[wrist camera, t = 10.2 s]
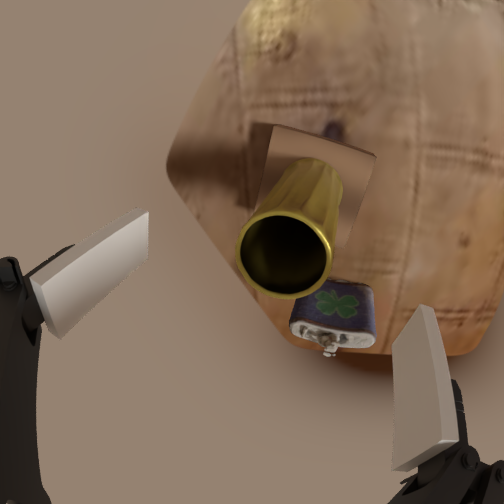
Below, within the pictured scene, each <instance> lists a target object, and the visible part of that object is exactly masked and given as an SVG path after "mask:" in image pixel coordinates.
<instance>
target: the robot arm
mask: <svg viewBox="0 0 504 504" xmlns="http://www.w3.org/2000/svg"><path fill="white" fill-rule="evenodd" d="M148 215H149V211H146V210H143V209H140V208H134V209H133V210H131V211H129V212H127V213H126V214H124V215H122V216H121V217H119V218H117V219H116V220H114V221H112V222H111V223H109V224H108V225H106V226H104V227H103V228H101V229H99V230H98V231H96V232H95V233H93V234H91V235H90V236H88V237H87V238H86V239H84V240H82V241H81V242H79V243H78V244H76V245H75V244H74V245H71V246H68V247H65V248H63V249H62V250H60V251H59V252H57V253H56V254H55V255H53V256H51V257H50V258H48V260H46V261H44V262H43V263H41V264H40V265H39V266H37V267H36V268H34V269H33V270H32V271H30V272H29V273H28V274H26V275H25V276H22V272H21V269H20V266H19V262H18V260H17V259H16V258H14V257H4V258H1V259H0V504H6V503H8V504H51V501H50V498H49V496H48V495H47V493H46V491H45V490H44V488H43V486H42V482H41V476H40V469H39V459H38V448H37V431H36V388H37V371H38V358H39V349H40V341H41V333H42V329H41V325H40V324H41V323H43V322H44V321H45V323H46V325H47V328H48V330H49V331H50V332H51V333H52V334H53V335H55V336H56V337H57V338H59V339H62V338H63V337H64V336H65V334H66V333H68V331H70V330H71V329H72V328H73V327H74V326H75V325H76V324H77V323H78V322H79V321H80V320H81V319H82V318H83V317H84V316H85V315H86V314H87V313H88V312H89V311H91V309H93V308H94V307H95V306H96V305H97V304H98V303H99V302H100V301H101V300H102V299H103V298H104V297H106V296H107V295H108V294H109V293H110V292H111V291H112V290H113V289H114V288H115V287H117V286H118V285H119V284H120V283H121V282H122V281H123V280H124V279H125V278H127V277H128V276H129V275H130V274H131V273H132V272H133V271H135V270H136V269H137V268H138V267H139V266H140V265H142V264H143V263H144V262H145V261H146V260H147V259H148ZM392 356H393V375H394V376H393V377H394V437H393V456H392V467H391V468H392V469H391V470H392V471H406V472H408V471H410V470H412V469H414V468H415V467H417V466H418V473H417V474H415V475H413V476H411V477H409V478H406V479H404V480H403V481H402V482H400V484H403V483H406V482H407V483H406V485H405V486H404V487H403V488H402V489H401V490H400V491H399V492H398V493H397V494H396V495H395V496H394V497H393V499H392V500H391V501H390V502H389V503H388V504H504V461H503V460H499V461H497V462H495V463H494V464H492V465H487V464H485V463H483V462H481V461H480V458H479V455H478V452H477V451H476V449H475V448H473V447H472V446H469V445H468V438H467V428H466V421H465V413H463V412H464V407H463V404H462V395H461V390H460V389H459V386H458V384H457V382H456V380H453V379H451V378H450V373H449V368H448V364H447V359H446V355H445V350H444V346H443V342H442V338H441V334H440V331H439V327H438V323H437V320H436V316H435V313H434V310H433V308H431V307H428V306H425V305H423V304H420V305H419V306H418V308H417V309H416V311H415V312H414V314H413V315H412V317H411V318H410V320H409V321H408V323H407V324H406V326H405V327H404V329H403V330H402V331H401V333H400V334H399V336H398V337H397V338H396V340H395V341H394V343H393V344H392Z"/></svg>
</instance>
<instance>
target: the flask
mask: <svg viewBox="0 0 504 504" xmlns="http://www.w3.org/2000/svg"><path fill="white" fill-rule="evenodd" d="M289 327H290V331H291V333H292V334H294V335H295V336H298V337H301V338H304V339H307V340H309V341H312V342H316V343H319V345H321V346H322V347H326V349H324V350H325V351H329V352H335V351H336V349H337V347H348V348H368V347H370V346H371V345H373V344H374V342H375V341H376V335H377V334H376V329H375V317H374V300H373V291H372V288H371V287H369V286H367V285H365V284H362V283H358V284H355V283H351V282H348V281H345V280H335V281H333V280H331V279H330V278H328V279H326V281H325V282H324V283H323V284H322V286H321V287H320V288H319V289H317V290H316V291H314V292H313V293H311V294H309V295H307V296H304V297H300V298H296V301H295V305H294V308H293V311H292V313H291V317H290V320H289ZM323 355H325V356H327V357H329V356H331V355H330V353H326V352H324V353H323ZM333 356H335V354H333Z"/></svg>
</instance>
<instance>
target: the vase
mask: <svg viewBox="0 0 504 504" xmlns="http://www.w3.org/2000/svg"><path fill="white" fill-rule="evenodd" d="M342 193H343V186H342V181H341V179H340V177H339V175H338V173H337V172H336V170H335V169H334V168H333V167H332V166H330V165H329V164H328V163H326V162H324V161H322V160H319V159H314V158H306V159H301V160H298V161H296V162H294V163H292V164H291V165H290V166H289V167H288V168H287V169H286V170H285V171H284V173H283V175H282V177H281V178H280V180H279V181H278V182H277V184H276V185H275V186H274V188H273V189H272V190H271V192H270V193H269V194H268V196H267V197H266V198H265V200H264V201H263V202H262V204H261V205H260V206H259V207H258V209H257V210H256V211H255V213H254V214H253V215H252V217H251V218H250V219H249V220H248V222H247V223H246V224H245V225H244V226H243V227H242V229H241V232H240V234H239V236H238V239H237V241H236V245H235V258H236V263H237V266H238V268H239V270H240V272H241V273H242V275H243V277H244V278H245V280H246V281H247V282H248V283H249V284H250V285H251V286H252V287H254V288H255V289H256V290H258V291H259V292H261V293H263V294H265V295H268V296H271V297H275V298H280V299H296V298H300V297H304V296H307V295H309V294H311V293H313V292H314V291H316V290H317V289H319V288H320V287H321V286H322V284H323V283H324V282H325V281H326V279H327V278H328V276H329V274H330V271H331V268H332V264H333V258H334V249H335V238H336V232H337V224H338V215H339V208H338V206H339V204H340V202H341V199H342Z"/></svg>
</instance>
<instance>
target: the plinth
mask: <svg viewBox="0 0 504 504" xmlns="http://www.w3.org/2000/svg"><path fill="white" fill-rule="evenodd" d="M306 158H314V159H319V160H322V161H324V162H326V163H328V164H329V165H330V166H332V167H333V168H334V169H335V170H336V172H337V173H338V175H339V177H340V179H341V181H342V186H343V193H342V199H341V202H340V204H339V206H338V208H339V215H338V224H337V232H336V238H335V246H336V247H339V248H342V249H344V247H345V245H346V242H347V240H348V237H349V235H350V232H351V229H352V227H353V224H354V222H355V219H356V216H357V214H358V211H359V208H360V205H361V203H362V200H363V197H364V194H365V191H366V188H367V185H368V183H369V180H370V177H371V174H372V171H373V167H374V164H375V161H376V158H377V157H376V156H375V155H374V154H373V153H371V152H368V151H365V150H363V149H360V148H357V147H354V146H351V145H348V144H345V143H342V142H339V141H336V140H333V139H330V138H327V137H323V136H320V135H317V134H313V133H310V132H306V131H303V130H299V129H295V128H292V127H288V126H284V125H275V126H274V127H273V132H272V136H271V140H270V145H269V149H268V153H267V158H266V162H265V166H264V171H263V175H262V180H261V184H260V188H259V193H258V197H257V202H256V206H255V211H256V210H257V209H258V207H259V206H260V205H261V204H262V202H263V201H264V200H265V198H266V197H267V196H268V194H269V193H270V192H271V190H272V189H273V188H274V186H275V185H276V184H277V182H278V181H279V180H280V178H281V177H282V175H283V173H284V171H285V170H286V169H287V168H288V167H289V166H290V165H291V164H292V163H294V162H296V161H298V160H301V159H306ZM255 211H254V213H255Z"/></svg>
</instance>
